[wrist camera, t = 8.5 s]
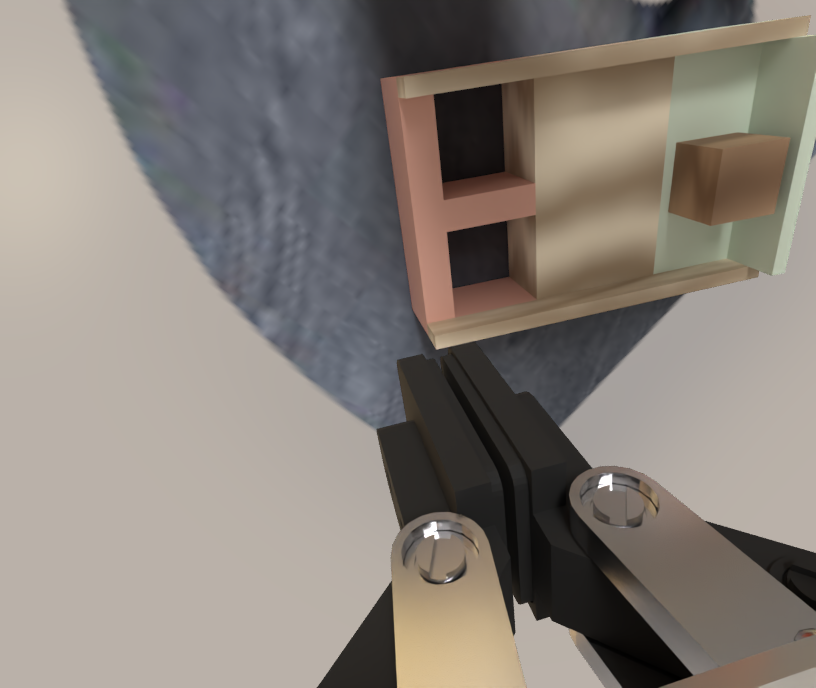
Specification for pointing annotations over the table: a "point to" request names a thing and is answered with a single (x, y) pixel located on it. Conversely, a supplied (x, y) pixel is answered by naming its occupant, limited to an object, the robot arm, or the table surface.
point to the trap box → (600, 174)
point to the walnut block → (727, 177)
